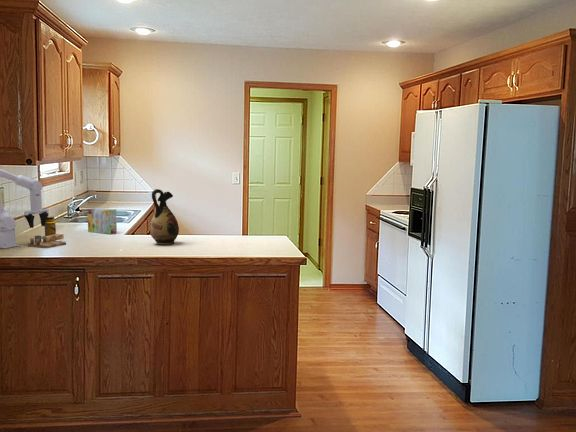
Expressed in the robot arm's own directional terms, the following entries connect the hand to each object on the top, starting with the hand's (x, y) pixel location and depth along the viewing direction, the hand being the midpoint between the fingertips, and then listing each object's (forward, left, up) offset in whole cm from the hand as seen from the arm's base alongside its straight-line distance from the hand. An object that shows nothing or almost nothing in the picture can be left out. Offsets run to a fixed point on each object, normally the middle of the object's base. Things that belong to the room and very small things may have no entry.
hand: (37, 226), depth 316 cm
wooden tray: (-4, -11, -9) cm, 15 cm away
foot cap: (0, 0, -9) cm, 9 cm away
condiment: (+17, +11, -9) cm, 22 cm away
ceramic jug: (+26, -66, -9) cm, 72 cm away
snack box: (+44, -4, -9) cm, 46 cm away
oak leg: (+4, -7, -7) cm, 11 cm away
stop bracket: (+6, -3, -9) cm, 11 cm away
